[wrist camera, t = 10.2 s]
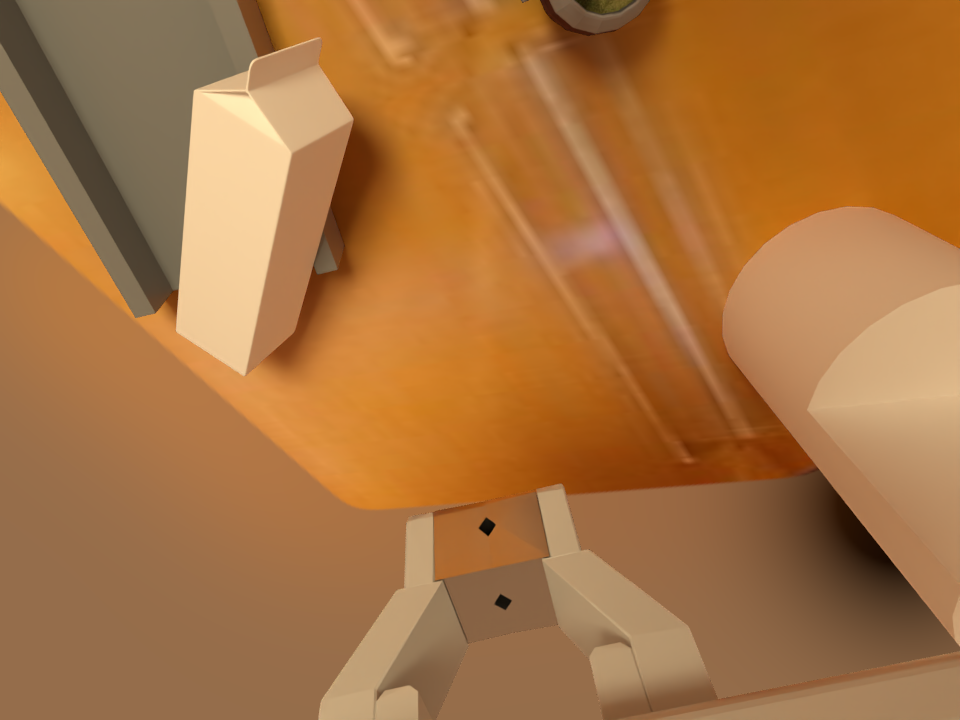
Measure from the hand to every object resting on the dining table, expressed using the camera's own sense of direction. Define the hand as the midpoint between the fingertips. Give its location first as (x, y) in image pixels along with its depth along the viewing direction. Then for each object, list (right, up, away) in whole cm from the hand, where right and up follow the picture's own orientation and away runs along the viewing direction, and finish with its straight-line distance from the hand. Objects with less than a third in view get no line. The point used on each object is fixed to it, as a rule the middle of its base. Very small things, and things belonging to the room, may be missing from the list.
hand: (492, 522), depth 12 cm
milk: (-18, +5, +34) cm, 39 cm away
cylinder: (+29, +8, +42) cm, 52 cm away
